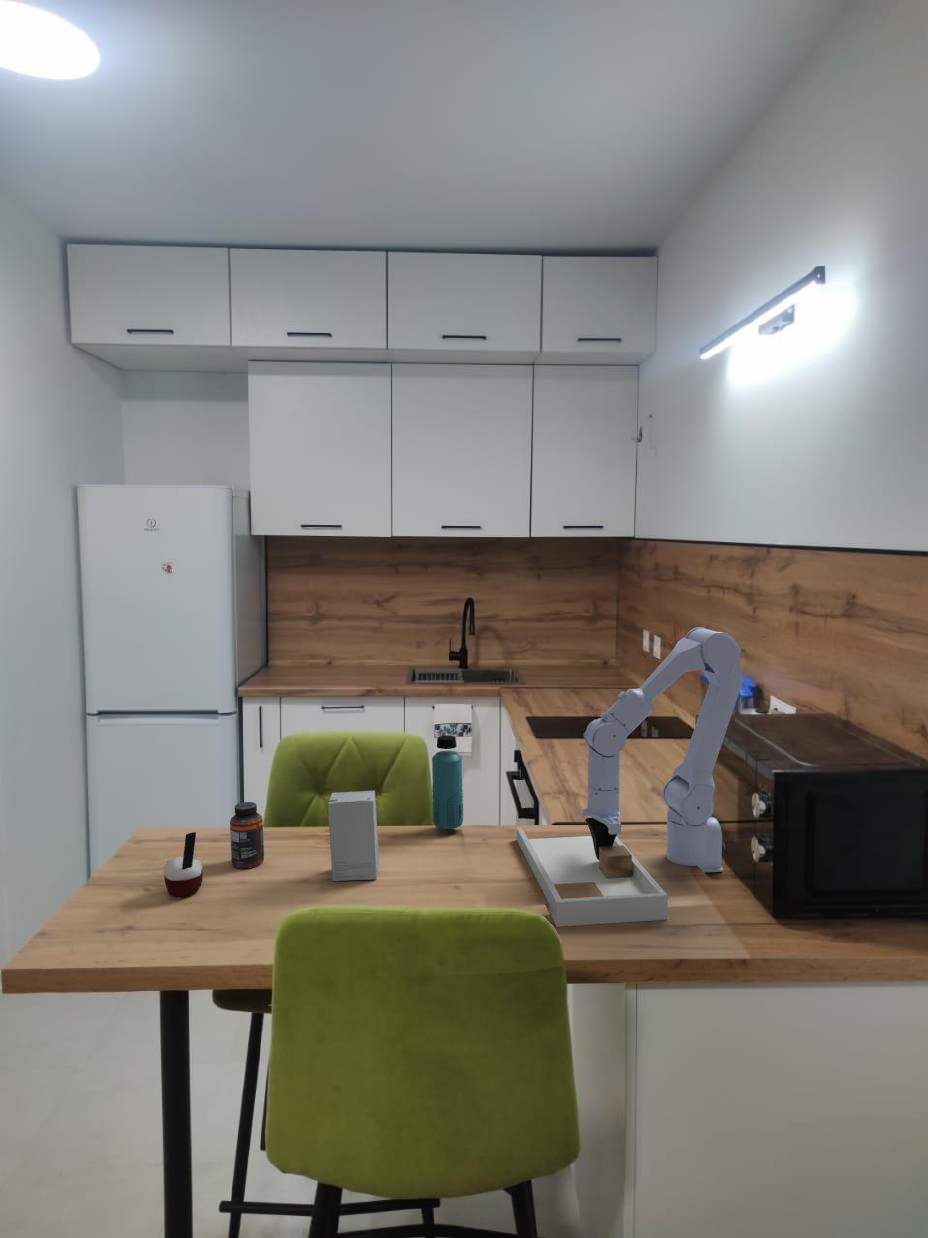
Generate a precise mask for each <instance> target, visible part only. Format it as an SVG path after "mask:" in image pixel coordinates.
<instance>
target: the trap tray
mask: <svg viewBox="0 0 928 1238" xmlns="http://www.w3.org/2000/svg"><path fill="white" fill-rule="evenodd" d="M516 842H517V843H518V846H519V848H520V850H521V851H522V854H523V855H524V857H525V860H526V861H527V864H528V866H529V867H530V869H531V871H532V873H533V875H534V878H535V879H536V881H537V883H538V884H539V887H540V888H541V891H542V892H543V895H544V897H545V899H546V900H547V902H548V903H544V904H545V906H546V910H548V913H549V915H550V917H551V919H552V921H553V923H554V925H555V927H556V928H558V927H559V928H560V927H573V926H575V927H576V926H589V925H590V926H591V925H601V924H602V925H603V924H605V925H606V924H623V923H636V922H648V921H649V922H651V921H652V922H653V921H663V920H664V921H666V920H668V903H669V902H668V899H669V895H668V894H667V893H666V891H665V890H664V889H663V888H662V887H661V886H660V884H659V883H658V882H657V881H656V880H655V879H654V878H653V876H652V875H651V874H650V873H649V872H648V871H647V870H646V868H645V867H644V866H643V865H642V864H641V863H640V861H639V860H638V859H637V858H636V857H635V856H634V854H633V853H632V852H631V851H630V850H629V849H628V848H627V846H626V845H625V844H624V843H623V842H622V840H620V838H619V837H618V835H617V836H616V838H615V840H614V843H613V846H622V845H624V846H625V848H626V849H627V850H628V851H629V852H630V853H631V855H632V877H627V878H610V879H606V877H605V876H604V874H603V873H602V872H601V870H600V869H599V860H598V859H597V858H596V854H595V850H594V845H593V840H592V836H591V835H590V836H589V835H585V836H584V835H583V836H566V837H564V836H563V837H548V838H547V837H545V838H528V836H527V834H526V832H525V831H524V829H523V827H522V826H521V827H520V826H519V827H516ZM586 883H594V885H595V886H596V887H597V890H599V892H600V894H601V895H602V896H590V897H589V896H588V897H587V896H586V897H574V898H571V897H570V898H561V896H560V894H559V892H558V891H557V888H556V886H555V885H566V884H586Z"/></svg>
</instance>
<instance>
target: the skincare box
mask: <svg viewBox="0 0 928 1238" xmlns="http://www.w3.org/2000/svg"><path fill="white" fill-rule="evenodd" d="M327 813H328V829H329V831H328V833H329V846H330V847H329V848H330V862H331V877H332V882H342V881H344V882H345V881H367V880H370V881H371V880H372V881H373V880H377V878H378V873H379V868H380V859H379V858H380V857H379V839H378V826H377V825H378V824H377V822H378V821H377V804H376V791H375V790H363V791H348V792H347V791H346V792H345V791H344V792H332V793H331V795H330V797H329V800H328V803H327Z"/></svg>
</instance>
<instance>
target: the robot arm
mask: <svg viewBox="0 0 928 1238" xmlns="http://www.w3.org/2000/svg"><path fill="white" fill-rule="evenodd" d="M741 653H742V649H741V647H740V646H739V645H738V643H737V641H736V640H735V638H734V637H733V636H731V635H730V634H729V633H727V632H722V631H715V630H711V629H708V628H706V627H703V626H700V627H699V626H698V627H694V628H692V629H690V631H688V632H687V633H686V635H685V636H684V637H682V638H681V639H680V640H678V641H677V643H676V644H675V646H674V648H673V649H672V651H671V652H669V654H668V655H667V656H666V657H665V658H664V659H663V661H661V662H660V664H659V665H658V666H657V667H656V668H655V669H654V671H653V672H652V673H651V674H650V675H649V676H648V677H647V679H645V681H644V682H643V683H642V684H641V685H640V686H639V688H628V689H627V690H626V691H621V692H620V693H619V694H617V698H618V699H617V700H616V701H615V702H614V704H612V705H611V706H610V707H609V708H608V709H607V710H606V712H604V711H602V713H600V714H599V717H600V718H597V719H593V720H592V721H590V722H589V724H588V725H587V727H586V730H585V732H583V738H584V742H586V744H587V745H588V747H587V748H588V749H587V751H588V755H587V756H588V758H587V797H586V798H587V800H586V807H585V808H581V809H580V814H581V815H582V816H585V817H586V818H585V824H587V826H588V829H589V832H590V836H592V840H593V845H594V851H595V854H596V858H597V859H598V860H599V847H603V846H613V843H614V840H615V838H616V836H617V837H618V835H621V834H622V823H621V809H620V794H621V793H620V789H621V787H620V783H621V782H620V776H621V775H620V773H621V762H620V760H621V759H620V758H621V757H620V756H621V754H620V752H622V751H623V750H624V749H625V746H626V741H627V737H628V736H629V735H630V734H631V733H633V731H635V729H636V728H638V727H639V726H640V725H641V723H642V722H643V721H644V720H646V719H647V717H648V716H649V715H651V713H652V712H653V703H654V702H655V700H656V699H657V698H658V697H659V696H661V695H662V694H663V693H664V692H665V691H666V690H667V689H668V688H669V687H671V686H672V684H674V683H675V682H676V681H678V679H679V678H681V676H683V675H684V674H685V673H686V672H687V673H688V672H695V671H702V672H703V674H704V676H705V678H706V679H707V681H708V683H709V684H708V687H707V690H706V694H705V696H704V698H703V702H702V705H701V708H700V710H699V714H698V717H697V719H696V723H695V725H694V728H693V733H692V735H691V737H690V741H689V744H688V746H687V747H688V748H687V750H686V753H685V756H684V759H683V762H682V763H680V764H679V765H678V766H677V767H676V768H674V770H673V773H672V775H671V777H670V778H669V779H668V781H666V782H665V784H664V785H663V789H662V794H661V795H662V799H663V801H664V803H665V804H666V805H667V806H668V810H667V814H666V850H665V851H666V852H665V853H666V855H665V856H666V859H667V860H668V861H670V862H673V863H674V864H677V865H681V866H687V867H688V866H695V867H696V866H697V867H698V868H699V869H700V870H701V871H702V872H703V873H716V872H719V873H720V872H723V871H724V868H723V867H722V858H723V856H722V855H723V833H722V828H721V824H720V823H719V821H718V819H717V818H715V817H713V816H712V815H713V813H714V810H715V801H714V795H715V791H716V784H715V781H714V777H713V772H714V769H715V766H716V763H717V759H718V757H719V754H720V751H721V749H722V745H723V742H724V739H725V736H726V732H727V729H728V727H729V724H730V722H731V718H732V714H733V712H734V709H735V707H736V706H735V705H736V703H737V700H738V697H739V695H740V690H741V687H742V685H743V675H742V668H741V661H740V657H741Z"/></svg>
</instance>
